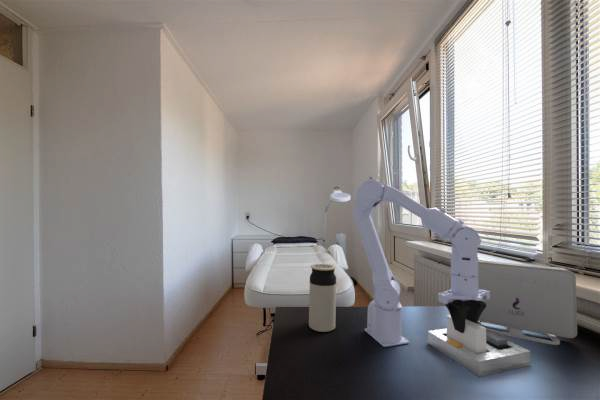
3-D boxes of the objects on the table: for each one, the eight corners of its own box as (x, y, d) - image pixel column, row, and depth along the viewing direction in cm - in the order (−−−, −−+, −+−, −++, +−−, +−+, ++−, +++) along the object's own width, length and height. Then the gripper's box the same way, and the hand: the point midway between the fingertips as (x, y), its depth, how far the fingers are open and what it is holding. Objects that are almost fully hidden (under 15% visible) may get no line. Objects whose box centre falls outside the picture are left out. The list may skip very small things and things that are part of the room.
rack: (427, 343, 66) (427, 324, 67) (473, 335, 71) (472, 318, 71) (479, 377, 53) (479, 353, 53) (530, 365, 58) (530, 344, 58)
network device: (464, 327, 77) (464, 261, 77) (461, 316, 84) (461, 257, 85) (582, 350, 65) (580, 272, 66) (566, 336, 72) (564, 266, 73)
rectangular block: (446, 337, 64) (446, 315, 65) (455, 335, 65) (455, 314, 66) (476, 354, 57) (476, 329, 57) (486, 352, 58) (486, 328, 58)
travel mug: (336, 333, 71) (337, 269, 72) (308, 332, 71) (310, 268, 72) (333, 321, 79) (334, 263, 79) (308, 320, 79) (309, 262, 80)
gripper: (456, 280, 56) (456, 342, 55) (502, 276, 60) (503, 334, 60) (431, 272, 63) (431, 327, 62) (474, 270, 67) (474, 321, 66)
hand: (464, 330), depth 61 cm, fingers closed on rectangular block, 3 cm apart
